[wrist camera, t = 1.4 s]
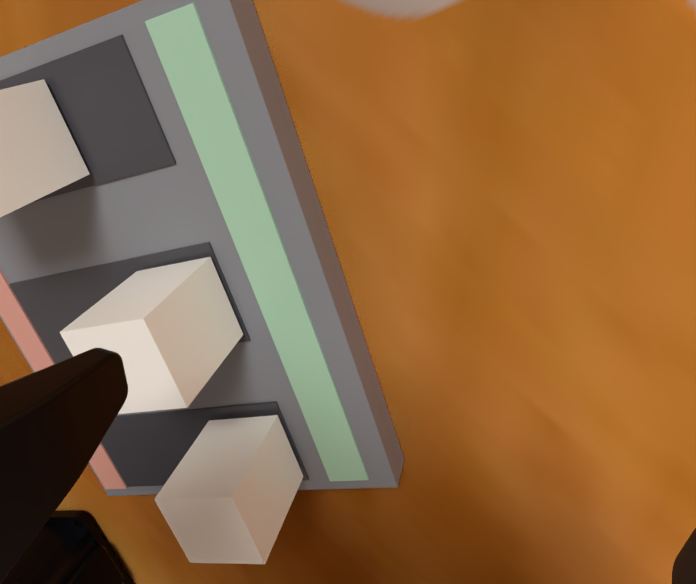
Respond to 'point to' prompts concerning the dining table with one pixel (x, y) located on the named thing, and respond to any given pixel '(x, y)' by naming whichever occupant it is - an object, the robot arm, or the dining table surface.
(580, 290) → the dining table surface
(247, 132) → the breaker panel
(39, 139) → the handle
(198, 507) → the white block
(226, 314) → the handle
